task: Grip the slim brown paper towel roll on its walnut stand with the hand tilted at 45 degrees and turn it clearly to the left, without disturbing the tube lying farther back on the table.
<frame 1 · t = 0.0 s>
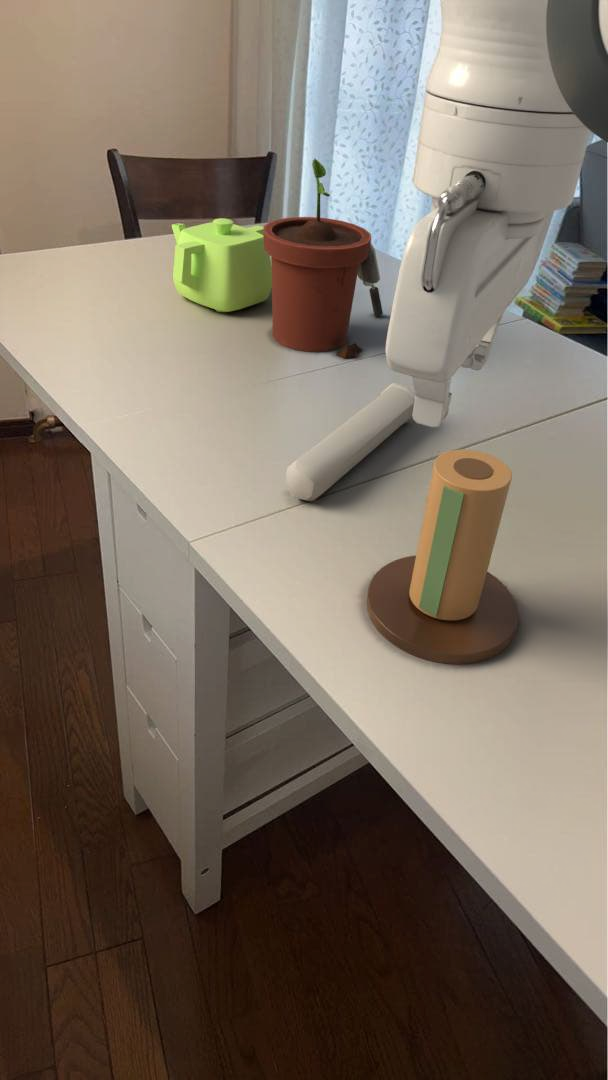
hand: (452, 391, 51), 27 cm above the table, tool pointing down, fingers open, 8 cm apart
tube: (350, 460, 96), on the table
teapot: (214, 297, 136), on the table
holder: (440, 610, 75), on the table
potted plant: (327, 336, 126), on the table
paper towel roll: (457, 537, 70), point 9 cm above the table, hinge at 0.0°
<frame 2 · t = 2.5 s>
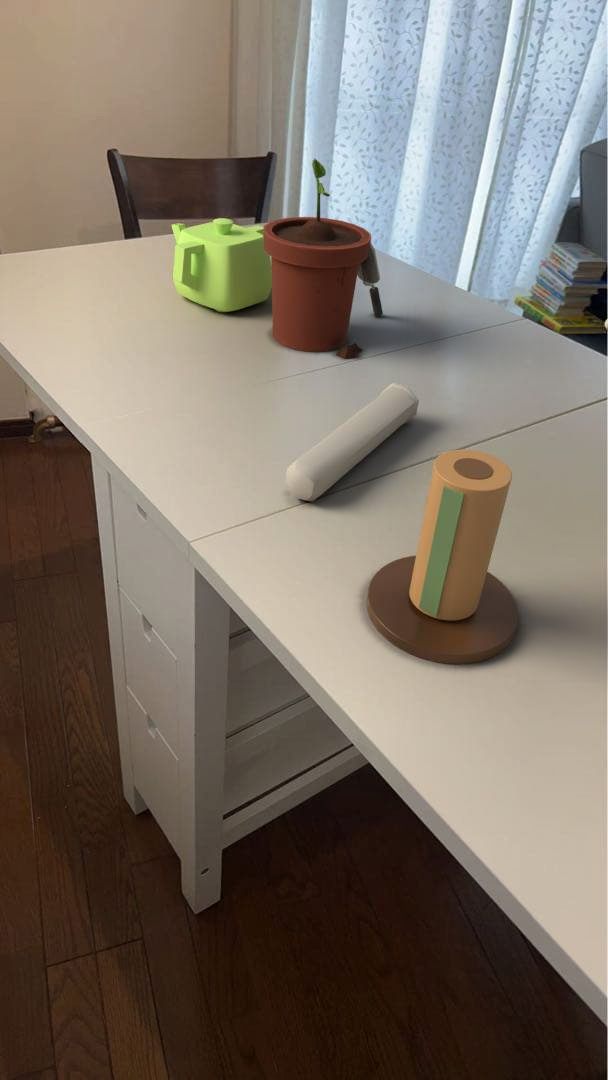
nothing on the table moved.
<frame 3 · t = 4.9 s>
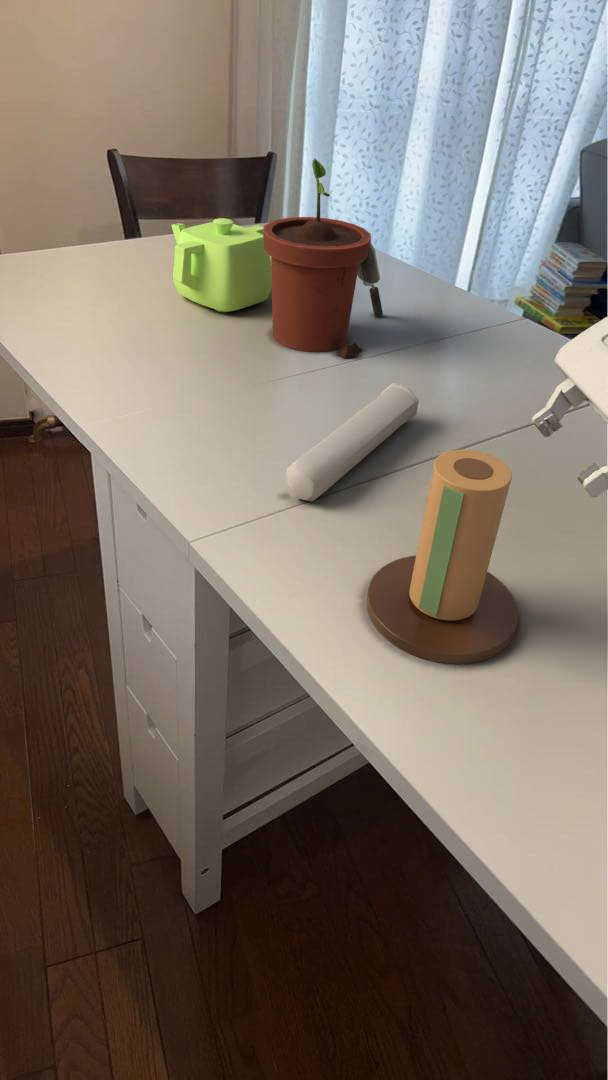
hand: (559, 456, 67), 16 cm above the table, tool tilted 45°, fingers open, 8 cm apart
nothing on the table moved.
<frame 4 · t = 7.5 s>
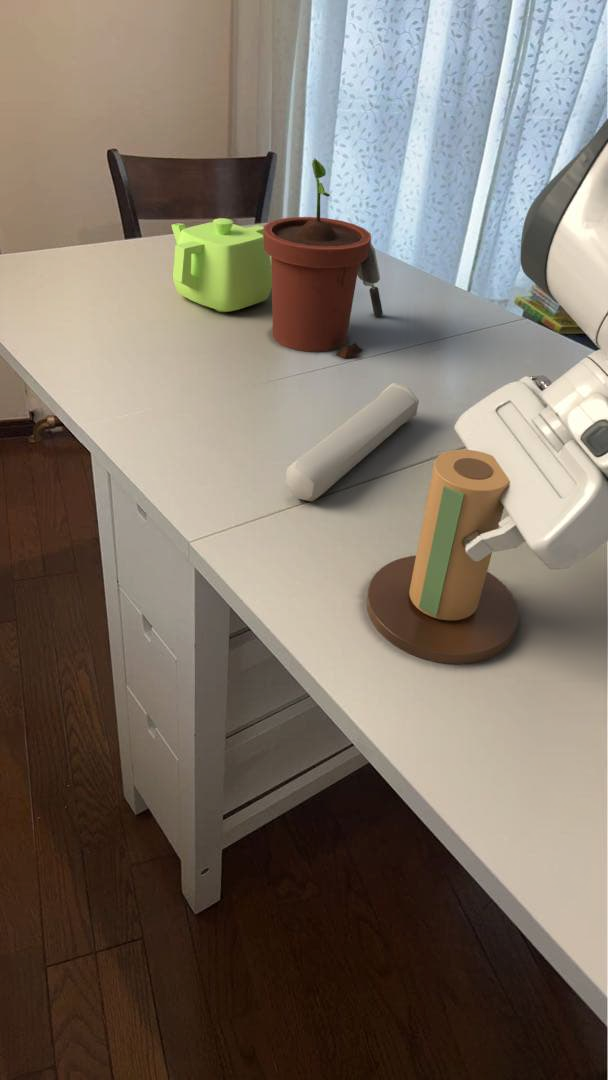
hand: (453, 525, 69), 10 cm above the table, tool tilted 45°, fingers closed on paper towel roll, 6 cm apart
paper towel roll: (457, 537, 70), point 9 cm above the table, hinge at 0.0°, touching gripper
everything else where it was.
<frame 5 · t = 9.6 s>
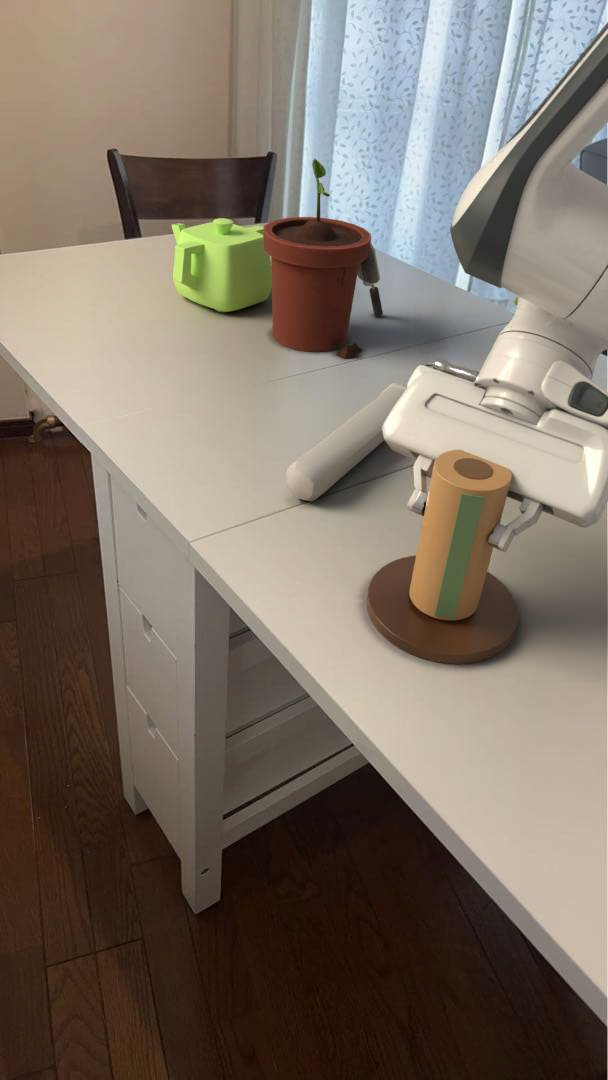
hand: (455, 529, 68), 10 cm above the table, tool tilted 45°, fingers closed on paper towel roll, 6 cm apart
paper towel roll: (457, 537, 70), point 9 cm above the table, hinge at 27.7°, touching gripper
everything else where it was.
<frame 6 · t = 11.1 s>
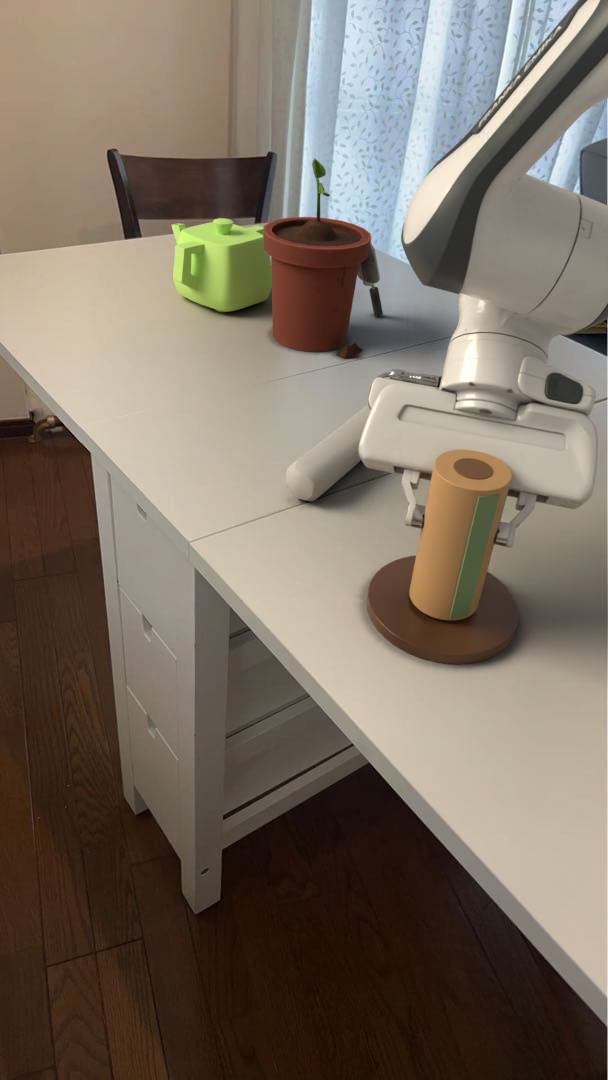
hand: (458, 535, 69), 9 cm above the table, tool tilted 45°, fingers closed on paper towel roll, 6 cm apart
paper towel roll: (458, 537, 70), point 9 cm above the table, hinge at 50.9°, touching gripper
everything else where it was.
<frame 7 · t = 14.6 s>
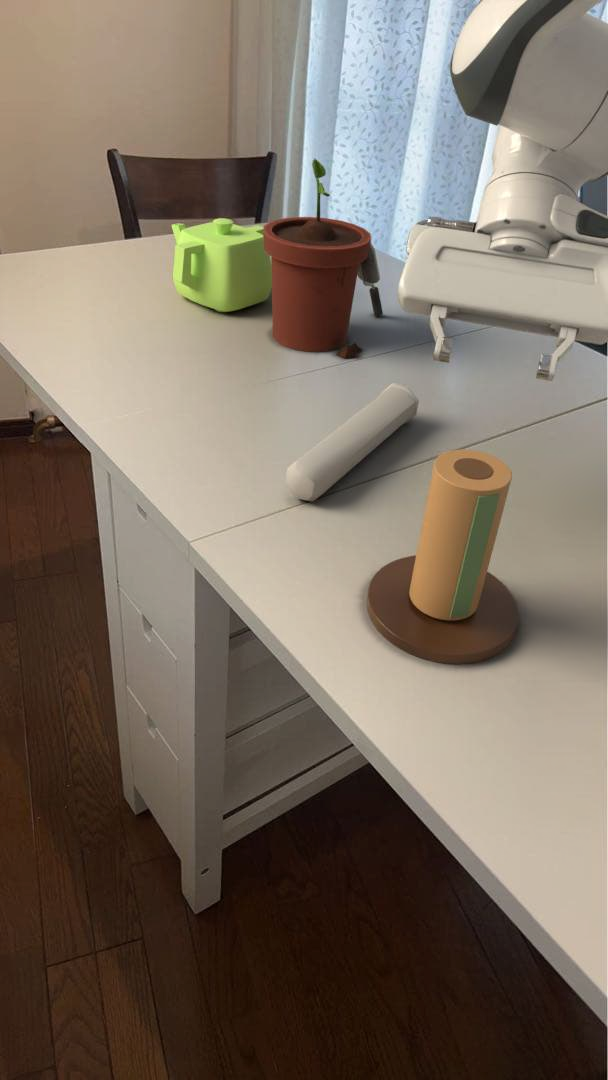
hand: (492, 368, 73), 19 cm above the table, tool tilted 45°, fingers open, 8 cm apart
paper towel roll: (458, 537, 70), point 9 cm above the table, hinge at 51.2°
everything else where it was.
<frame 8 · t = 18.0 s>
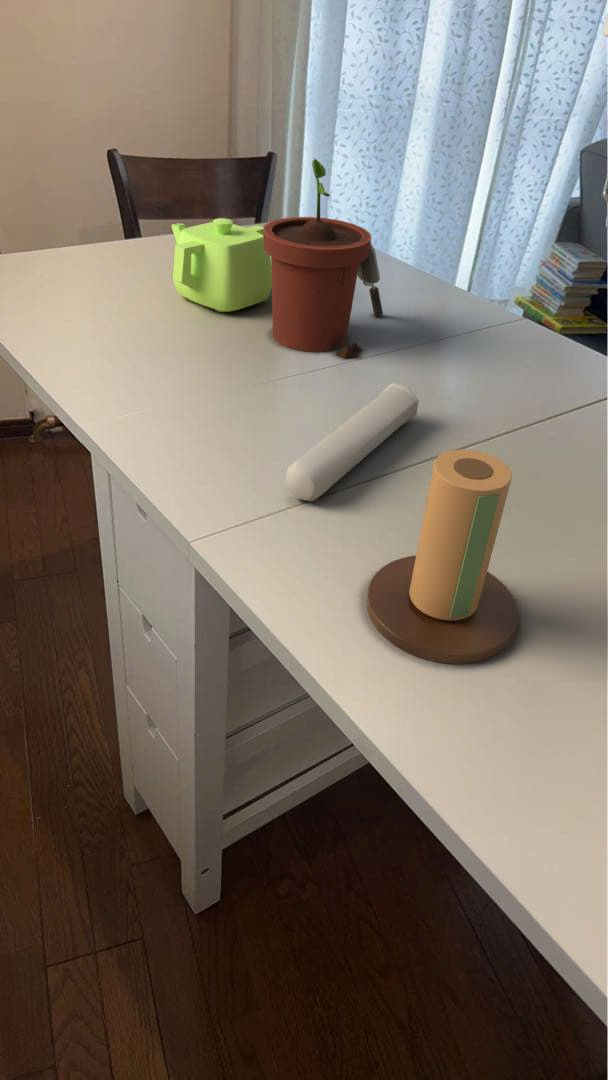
nothing on the table moved.
at the end: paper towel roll at +51° (first picture: +0°); the gripper is holding nothing; tube moved 0.2 cm from its start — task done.
